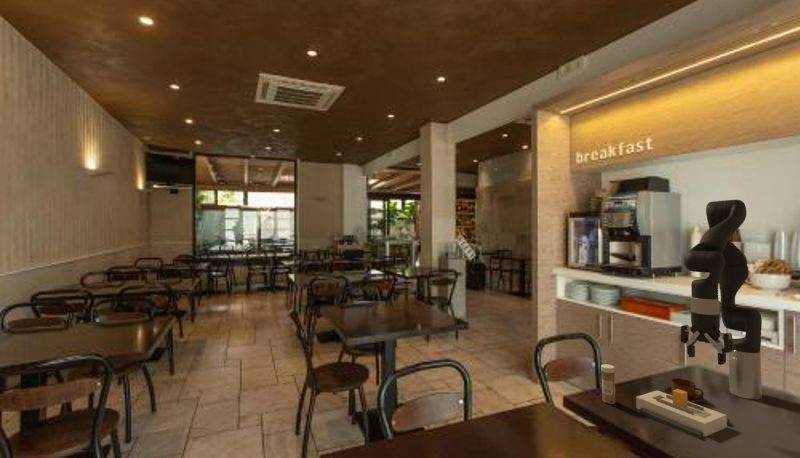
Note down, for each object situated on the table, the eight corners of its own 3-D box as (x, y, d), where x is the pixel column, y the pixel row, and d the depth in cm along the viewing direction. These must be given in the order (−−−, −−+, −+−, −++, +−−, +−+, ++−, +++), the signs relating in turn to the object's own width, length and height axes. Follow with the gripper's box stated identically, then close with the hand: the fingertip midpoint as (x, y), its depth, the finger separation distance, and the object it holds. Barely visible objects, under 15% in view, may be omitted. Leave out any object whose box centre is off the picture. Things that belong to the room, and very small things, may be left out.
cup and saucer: (701, 395, 149) (701, 379, 149) (705, 408, 139) (705, 391, 139) (664, 389, 156) (663, 374, 156) (665, 401, 146) (664, 384, 146)
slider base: (657, 400, 146) (657, 387, 146) (726, 427, 126) (726, 411, 126) (636, 407, 141) (636, 394, 141) (705, 436, 121) (704, 420, 121)
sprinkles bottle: (618, 402, 146) (617, 366, 146) (611, 405, 143) (610, 368, 143) (606, 398, 149) (604, 362, 149) (599, 401, 147) (598, 365, 147)
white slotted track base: (669, 400, 145) (669, 397, 145) (733, 424, 127) (733, 420, 127) (636, 412, 138) (636, 408, 138) (699, 438, 119) (699, 435, 119)
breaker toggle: (678, 402, 135) (677, 388, 135) (687, 405, 132) (687, 392, 132) (672, 404, 133) (672, 390, 133) (682, 407, 131) (681, 393, 131)
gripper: (737, 314, 124) (738, 365, 124) (688, 306, 137) (689, 353, 137) (723, 316, 121) (724, 369, 121) (675, 308, 134) (676, 356, 134)
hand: (705, 360), depth 129 cm, fingers open, 8 cm apart
